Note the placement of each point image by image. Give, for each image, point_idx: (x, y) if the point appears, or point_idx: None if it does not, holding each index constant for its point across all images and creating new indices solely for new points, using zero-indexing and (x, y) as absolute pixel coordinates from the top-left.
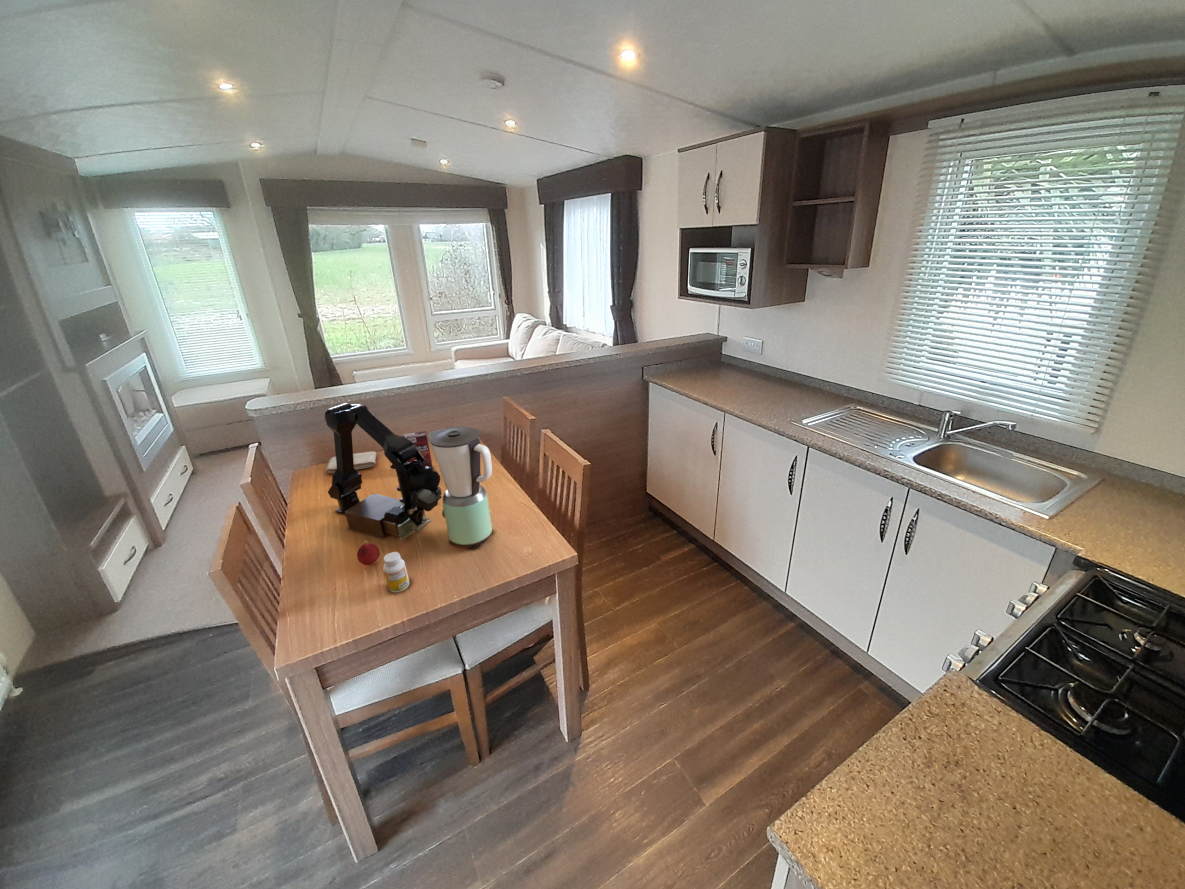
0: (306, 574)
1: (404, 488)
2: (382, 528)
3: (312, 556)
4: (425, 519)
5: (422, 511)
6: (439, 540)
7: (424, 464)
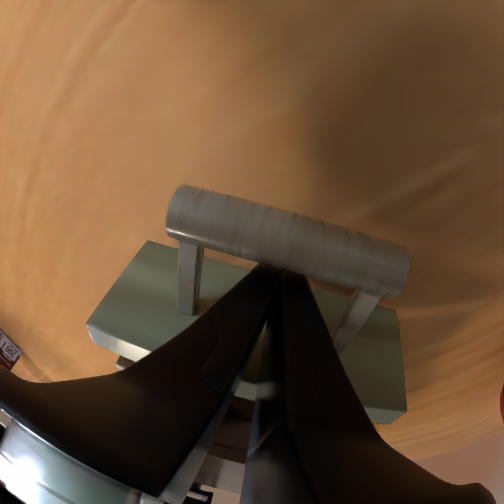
0: (479, 433)
1: None
2: None
3: (408, 451)
4: (188, 251)
5: (184, 387)
6: (373, 16)
7: None
